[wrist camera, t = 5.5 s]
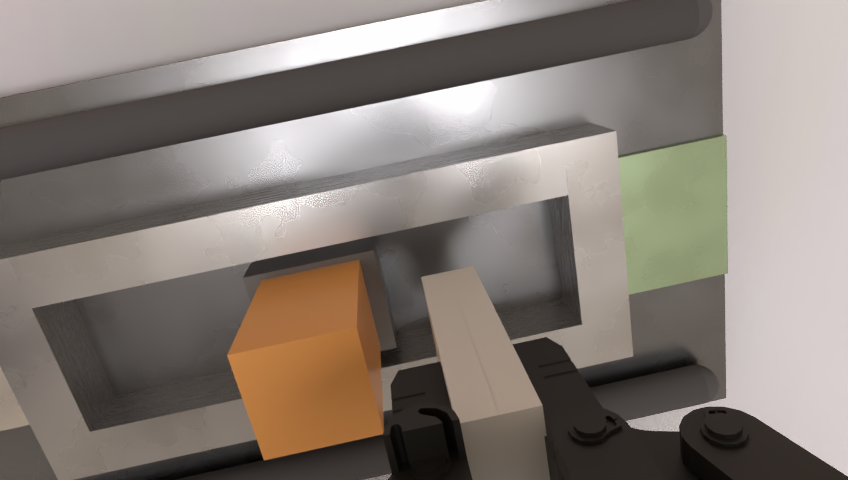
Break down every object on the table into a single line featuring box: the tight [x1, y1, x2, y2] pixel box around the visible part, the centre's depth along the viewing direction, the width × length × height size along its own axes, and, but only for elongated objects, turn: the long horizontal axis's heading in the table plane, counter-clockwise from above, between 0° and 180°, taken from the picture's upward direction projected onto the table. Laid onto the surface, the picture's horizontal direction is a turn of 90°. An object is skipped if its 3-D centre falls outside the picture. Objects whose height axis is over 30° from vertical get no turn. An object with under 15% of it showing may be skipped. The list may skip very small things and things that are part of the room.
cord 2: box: [0, 0, 713, 180], centre depth 16 cm, size 26×1×1 cm, turn 101°
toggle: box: [227, 236, 397, 460], centre depth 16 cm, size 4×3×6 cm
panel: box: [0, 0, 728, 480], centre depth 19 cm, size 28×16×3 cm, turn 101°
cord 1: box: [175, 365, 719, 480], centre depth 21 cm, size 26×1×1 cm, turn 101°
